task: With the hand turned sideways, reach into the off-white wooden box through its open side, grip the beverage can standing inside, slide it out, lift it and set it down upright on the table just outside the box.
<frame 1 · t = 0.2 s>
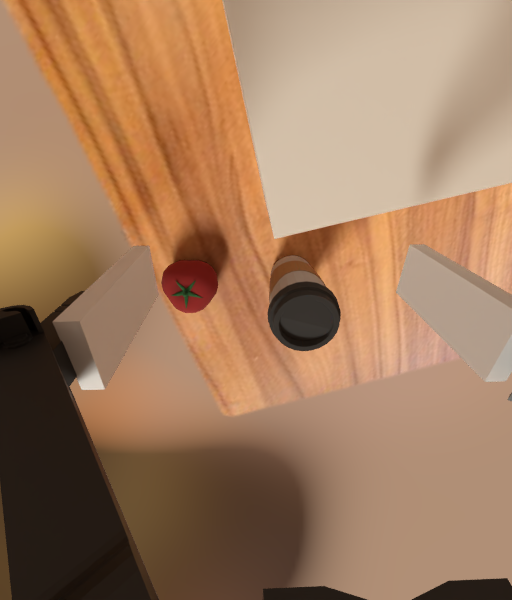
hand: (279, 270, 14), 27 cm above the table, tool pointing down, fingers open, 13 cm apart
open box: (308, 74, 32), on the table
coffee cup: (290, 273, 44), on the table
tomato: (196, 276, 44), on the table
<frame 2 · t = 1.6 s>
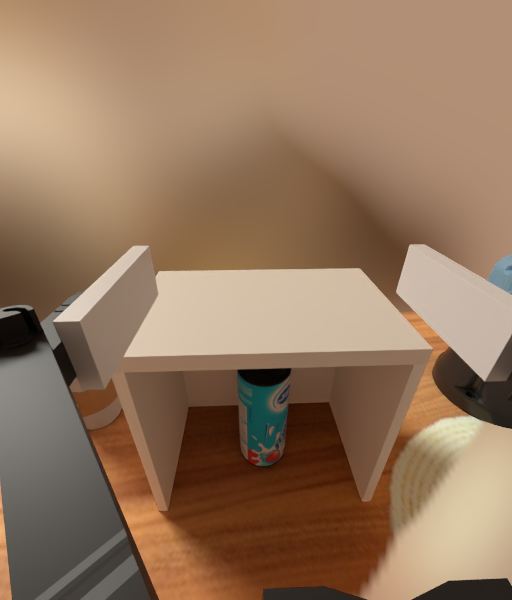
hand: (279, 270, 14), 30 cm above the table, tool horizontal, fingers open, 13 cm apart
open box: (262, 447, 38), on the table
coffee cup: (101, 413, 42), on the table
beverage can: (262, 448, 38), on the table
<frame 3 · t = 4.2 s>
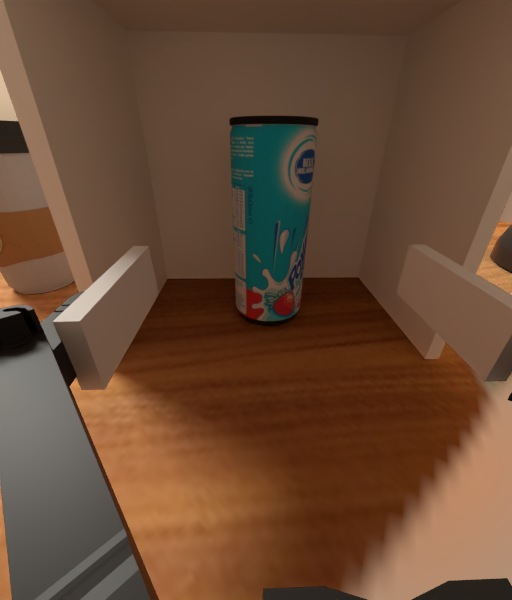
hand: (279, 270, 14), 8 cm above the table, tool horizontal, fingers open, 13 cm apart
open box: (267, 310, 26), on the table
coffee cup: (47, 283, 31), on the table
beverage can: (267, 311, 26), on the table
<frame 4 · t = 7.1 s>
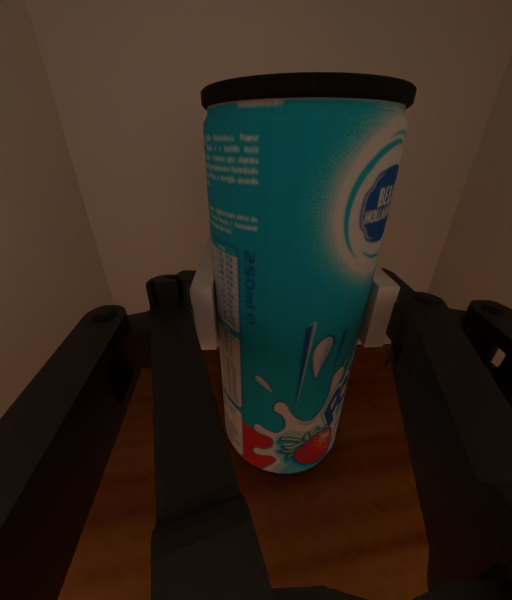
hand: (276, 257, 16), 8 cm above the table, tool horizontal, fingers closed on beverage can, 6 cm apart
open box: (279, 426, 15), on the table
beverage can: (279, 428, 16), on the table, touching gripper
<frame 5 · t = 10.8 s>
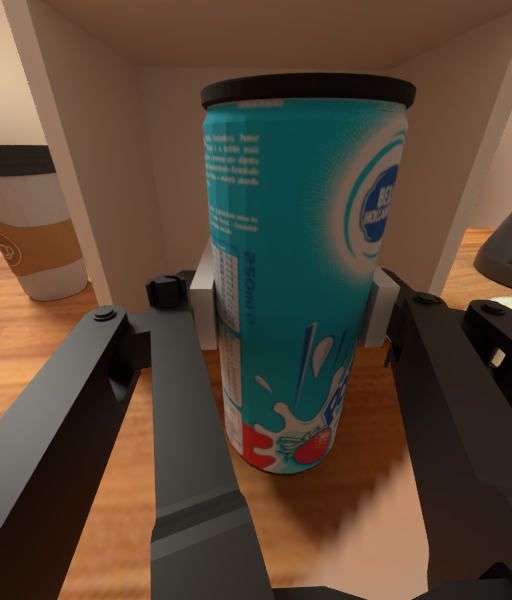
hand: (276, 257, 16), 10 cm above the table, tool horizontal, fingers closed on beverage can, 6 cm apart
open box: (264, 315, 28), on the table
coffee cup: (60, 290, 33), on the table
beverage can: (279, 428, 16), point 1 cm above the table, touching gripper
when the fingers open (10 cm above the table, at t = 14.8 s): beverage can drops 2 cm, on the table.
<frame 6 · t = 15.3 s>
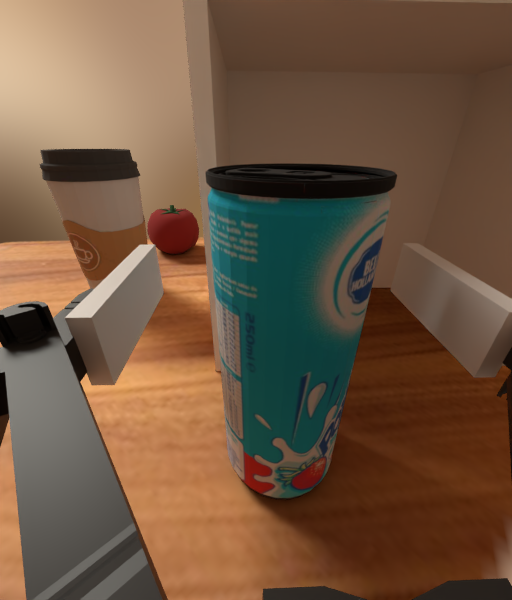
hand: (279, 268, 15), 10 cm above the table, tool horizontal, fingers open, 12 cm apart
open box: (340, 319, 28), on the table
coffee cup: (124, 293, 33), on the table
tomato: (176, 251, 46), on the table
beverage can: (278, 451, 17), on the table
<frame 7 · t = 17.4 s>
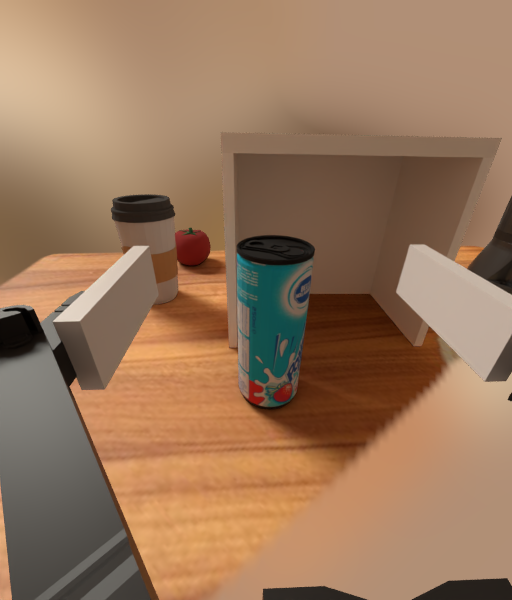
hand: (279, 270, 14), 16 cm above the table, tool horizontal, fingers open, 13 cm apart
open box: (314, 316, 40), on the table
coffee cup: (158, 296, 45), on the table
tomato: (191, 263, 58), on the table
beverage can: (267, 389, 28), on the table
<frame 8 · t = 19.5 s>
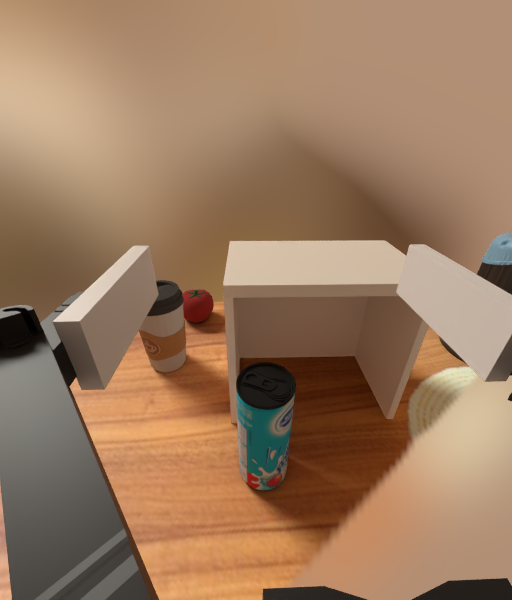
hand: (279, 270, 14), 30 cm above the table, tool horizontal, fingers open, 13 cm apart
open box: (304, 385, 47), on the table
coffee cup: (169, 362, 52), on the table
tomato: (197, 318, 65), on the table
beverage can: (262, 469, 35), on the table
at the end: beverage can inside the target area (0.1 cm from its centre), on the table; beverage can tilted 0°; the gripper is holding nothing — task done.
